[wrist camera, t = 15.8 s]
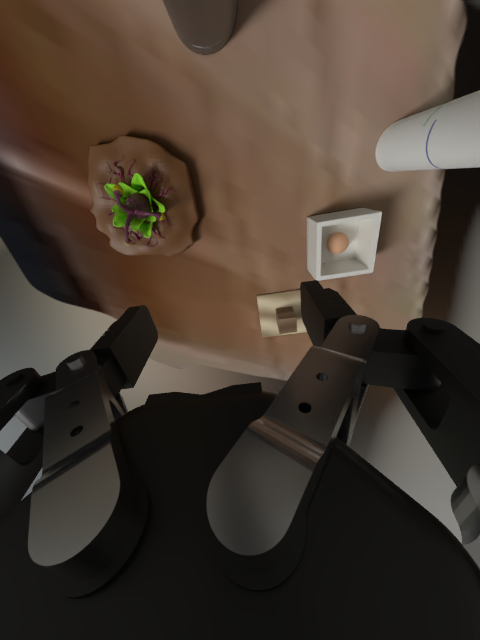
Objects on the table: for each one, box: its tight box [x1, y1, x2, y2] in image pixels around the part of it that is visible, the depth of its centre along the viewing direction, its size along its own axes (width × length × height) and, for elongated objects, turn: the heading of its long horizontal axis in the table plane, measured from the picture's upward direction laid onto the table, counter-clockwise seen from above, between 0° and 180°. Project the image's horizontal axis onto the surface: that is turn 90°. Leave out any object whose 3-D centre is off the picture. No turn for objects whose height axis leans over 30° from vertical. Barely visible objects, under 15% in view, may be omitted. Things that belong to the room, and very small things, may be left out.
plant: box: [88, 135, 199, 257], centre depth 39 cm, size 20×20×11 cm
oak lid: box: [257, 289, 307, 337], centre depth 54 cm, size 12×12×6 cm
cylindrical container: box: [376, 90, 480, 171], centre depth 28 cm, size 7×7×25 cm
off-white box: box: [307, 207, 382, 281], centre depth 44 cm, size 11×11×7 cm
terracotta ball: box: [327, 232, 349, 254], centre depth 45 cm, size 4×4×4 cm
